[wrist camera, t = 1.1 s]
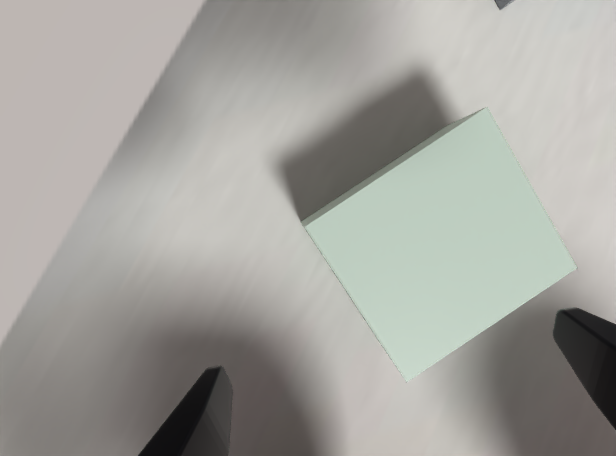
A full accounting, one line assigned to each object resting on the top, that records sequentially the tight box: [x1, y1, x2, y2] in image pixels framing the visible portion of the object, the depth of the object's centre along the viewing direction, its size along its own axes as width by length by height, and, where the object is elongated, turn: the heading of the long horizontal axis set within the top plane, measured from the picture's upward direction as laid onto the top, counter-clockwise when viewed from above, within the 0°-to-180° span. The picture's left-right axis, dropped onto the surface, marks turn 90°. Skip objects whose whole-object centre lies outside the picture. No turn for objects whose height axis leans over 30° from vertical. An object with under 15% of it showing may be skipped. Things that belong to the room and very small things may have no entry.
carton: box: [301, 107, 577, 382], centre depth 17 cm, size 10×9×4 cm
